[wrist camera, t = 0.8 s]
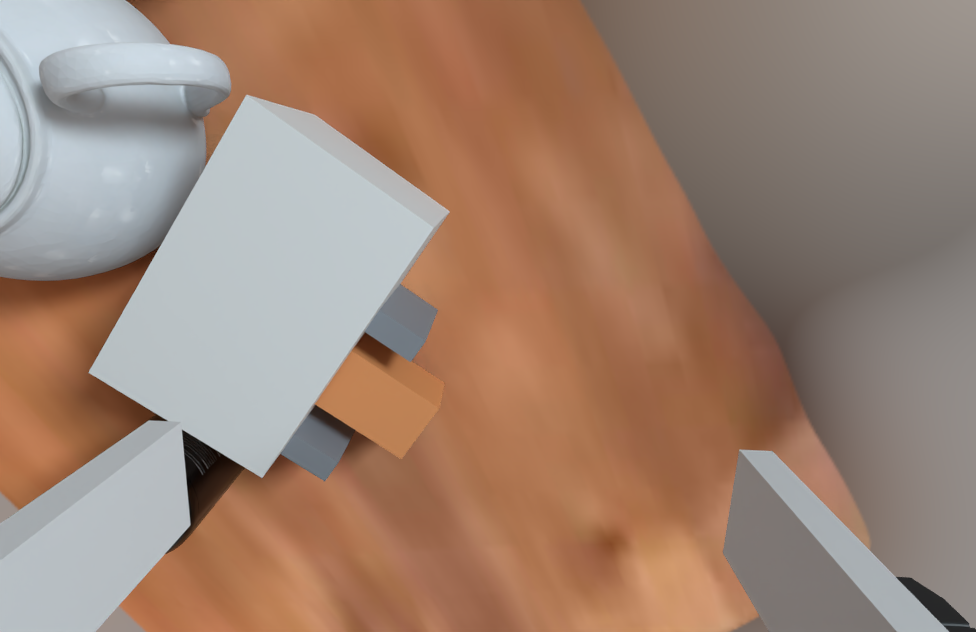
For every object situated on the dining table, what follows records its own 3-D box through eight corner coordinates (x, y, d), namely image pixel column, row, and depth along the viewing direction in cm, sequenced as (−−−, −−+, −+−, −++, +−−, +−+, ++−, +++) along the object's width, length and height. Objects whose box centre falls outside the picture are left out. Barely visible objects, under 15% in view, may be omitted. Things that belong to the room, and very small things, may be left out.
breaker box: (188, 323, 38) (86, 376, 29) (314, 114, 35) (246, 94, 25) (353, 428, 40) (308, 511, 31) (488, 239, 37) (486, 264, 27)
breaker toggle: (313, 366, 37) (292, 390, 33) (346, 317, 36) (329, 336, 32) (410, 429, 38) (401, 459, 34) (444, 383, 37) (439, 408, 33)
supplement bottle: (143, 403, 40) (0, 500, 28) (237, 384, 40) (130, 474, 28) (177, 489, 42) (55, 614, 30) (267, 472, 41) (178, 592, 30)
